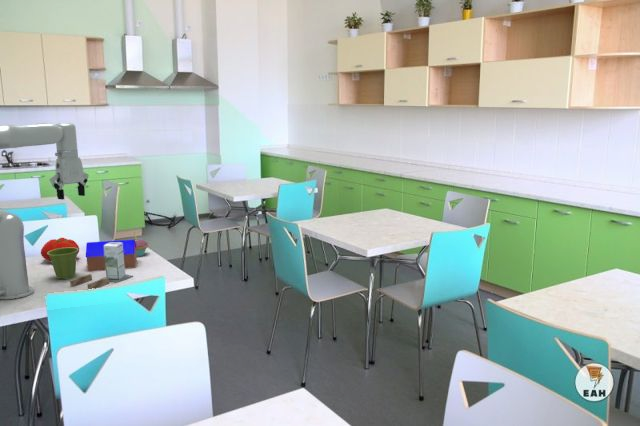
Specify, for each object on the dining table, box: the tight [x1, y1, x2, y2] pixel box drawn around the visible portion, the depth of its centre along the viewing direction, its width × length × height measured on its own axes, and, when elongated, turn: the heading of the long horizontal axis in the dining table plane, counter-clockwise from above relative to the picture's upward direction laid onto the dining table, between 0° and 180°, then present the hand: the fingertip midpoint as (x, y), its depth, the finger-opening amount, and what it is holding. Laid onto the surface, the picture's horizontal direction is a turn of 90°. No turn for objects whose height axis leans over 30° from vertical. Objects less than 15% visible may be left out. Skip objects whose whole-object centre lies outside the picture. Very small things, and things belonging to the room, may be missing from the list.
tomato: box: [40, 237, 80, 262], centre depth 252 cm, size 14×16×10 cm
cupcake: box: [133, 230, 149, 257], centre depth 260 cm, size 9×8×12 cm
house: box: [85, 238, 138, 272], centre depth 243 cm, size 12×20×12 cm, turn 104°
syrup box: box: [104, 242, 126, 279], centre depth 225 cm, size 6×6×14 cm
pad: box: [99, 273, 134, 284], centre depth 227 cm, size 9×9×1 cm
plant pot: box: [47, 247, 78, 280], centre depth 228 cm, size 12×12×11 cm
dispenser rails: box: [69, 273, 110, 290], centre depth 218 cm, size 10×11×2 cm
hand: (71, 197), depth 220 cm, fingers open, 9 cm apart
